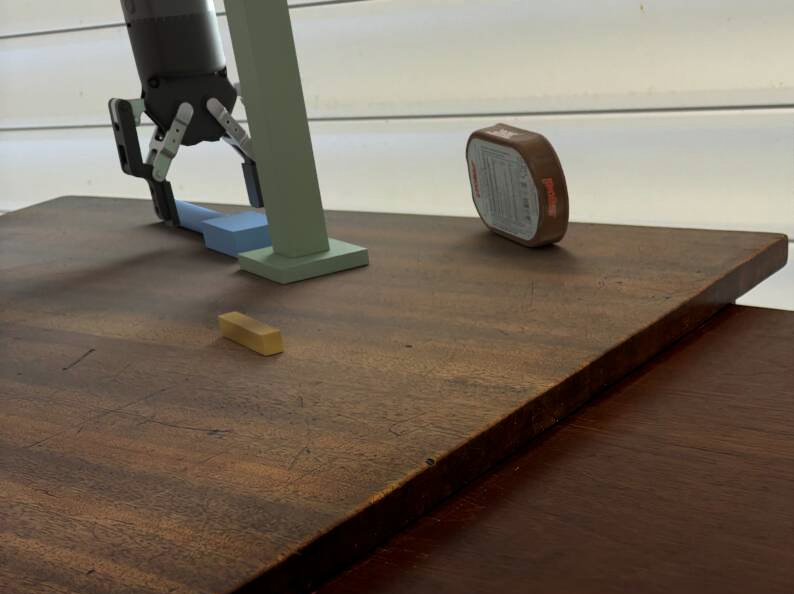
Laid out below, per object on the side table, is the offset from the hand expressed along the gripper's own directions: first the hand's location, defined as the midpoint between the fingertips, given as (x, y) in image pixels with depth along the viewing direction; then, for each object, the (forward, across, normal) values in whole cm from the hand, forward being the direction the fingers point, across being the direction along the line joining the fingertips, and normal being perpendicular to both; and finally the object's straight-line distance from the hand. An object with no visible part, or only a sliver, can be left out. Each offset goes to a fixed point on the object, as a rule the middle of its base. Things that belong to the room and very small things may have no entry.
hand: (216, 216), depth 108 cm
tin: (+2, -17, +24) cm, 30 cm away
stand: (+2, 0, +17) cm, 17 cm away
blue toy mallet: (+2, 0, -1) cm, 2 cm away
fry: (+2, +13, +34) cm, 37 cm away
